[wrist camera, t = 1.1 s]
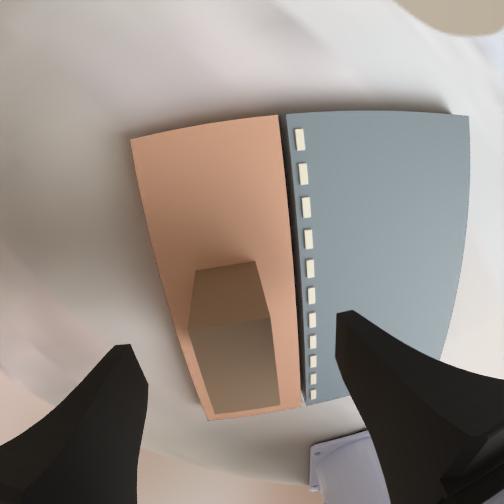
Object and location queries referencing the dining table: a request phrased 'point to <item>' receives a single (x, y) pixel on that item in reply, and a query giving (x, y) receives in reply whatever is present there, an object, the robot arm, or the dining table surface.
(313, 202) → the board
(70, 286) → the dining table surface
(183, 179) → the stub
